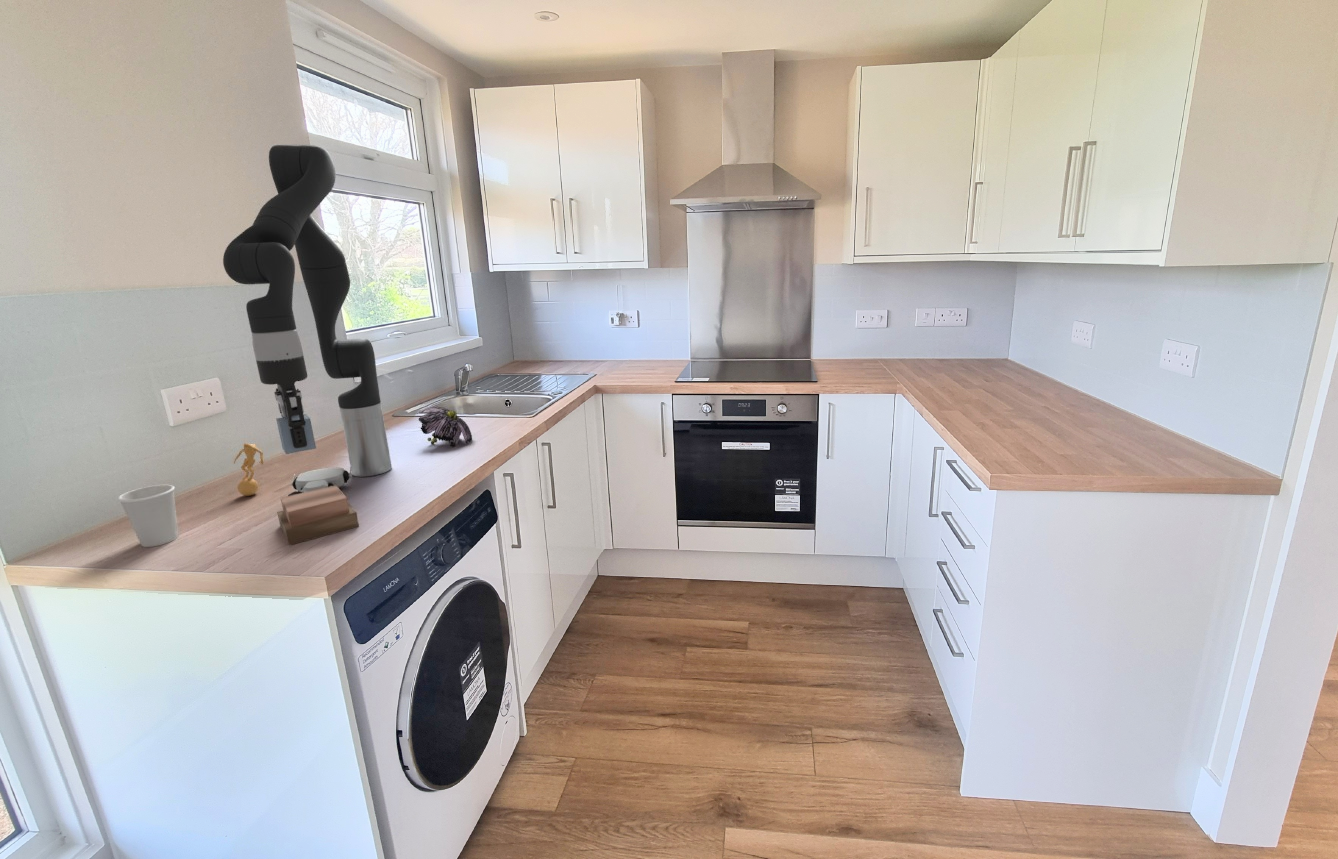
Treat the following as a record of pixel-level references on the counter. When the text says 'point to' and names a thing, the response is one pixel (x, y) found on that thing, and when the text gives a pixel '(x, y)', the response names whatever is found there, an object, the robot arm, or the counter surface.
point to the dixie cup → (152, 514)
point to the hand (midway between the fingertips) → (298, 443)
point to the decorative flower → (444, 426)
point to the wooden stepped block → (316, 514)
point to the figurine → (249, 484)
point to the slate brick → (287, 438)
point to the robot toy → (320, 479)
